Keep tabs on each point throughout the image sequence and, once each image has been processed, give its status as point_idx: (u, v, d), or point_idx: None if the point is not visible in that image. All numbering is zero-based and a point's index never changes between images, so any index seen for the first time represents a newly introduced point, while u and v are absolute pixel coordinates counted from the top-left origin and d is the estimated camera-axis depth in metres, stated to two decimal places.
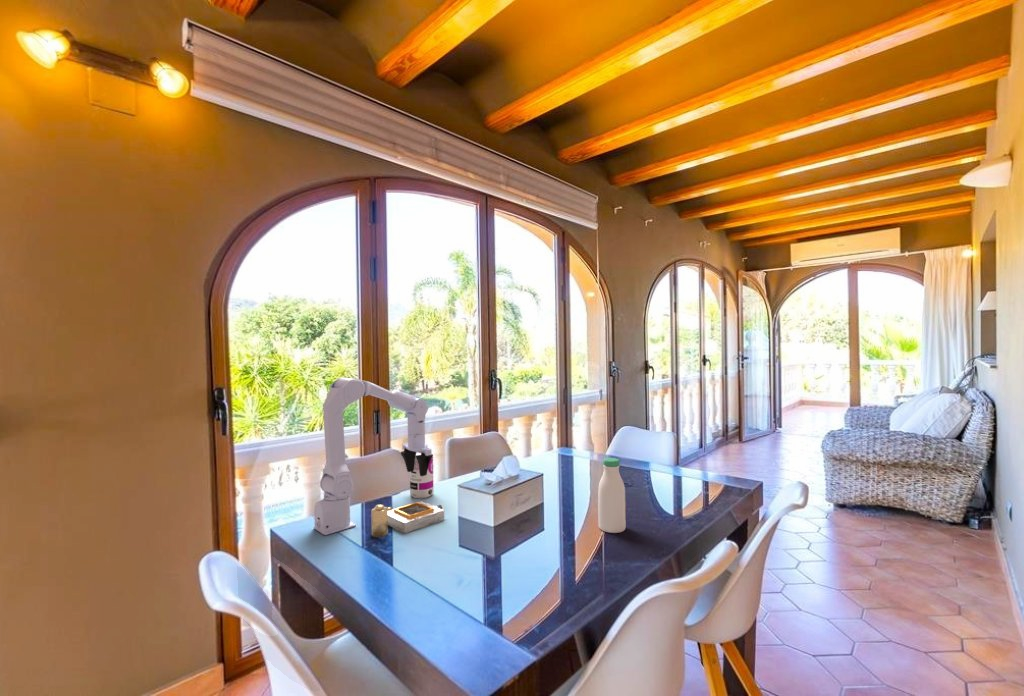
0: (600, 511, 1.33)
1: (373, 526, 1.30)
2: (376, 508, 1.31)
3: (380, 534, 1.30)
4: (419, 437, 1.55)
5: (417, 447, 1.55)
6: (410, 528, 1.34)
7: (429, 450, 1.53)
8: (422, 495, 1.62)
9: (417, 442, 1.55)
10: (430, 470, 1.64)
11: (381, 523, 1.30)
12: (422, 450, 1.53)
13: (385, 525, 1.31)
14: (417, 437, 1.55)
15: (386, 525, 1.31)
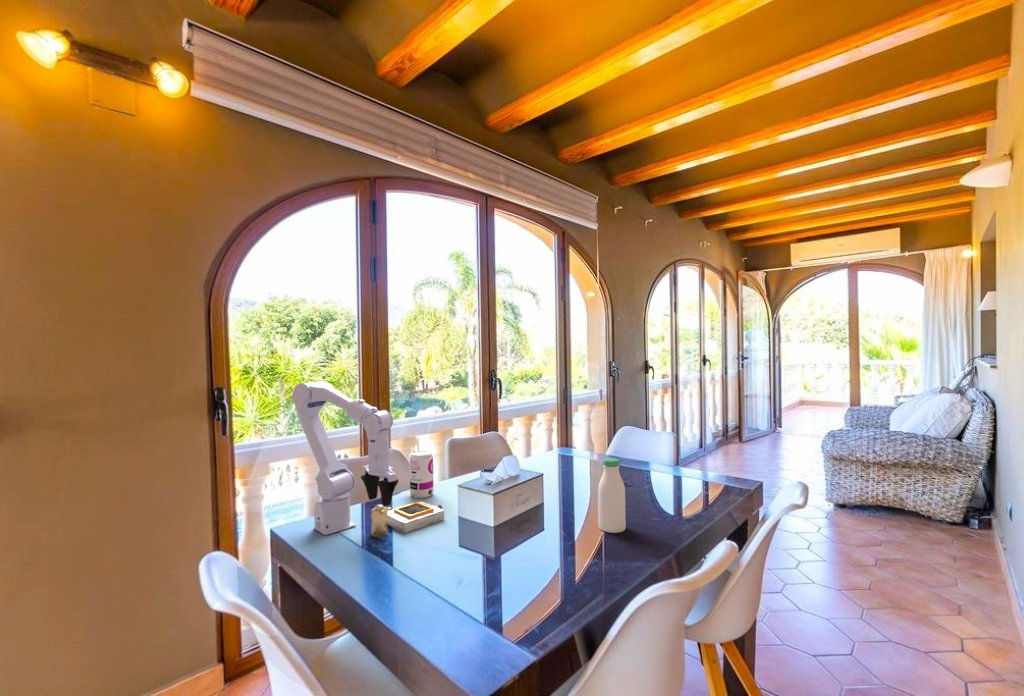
0: (600, 511, 1.33)
1: (373, 526, 1.30)
2: (376, 508, 1.31)
3: (380, 534, 1.30)
4: (381, 459, 1.30)
5: (379, 471, 1.29)
6: (410, 528, 1.34)
7: (393, 475, 1.27)
8: (422, 495, 1.62)
9: (379, 465, 1.29)
10: (430, 470, 1.64)
11: (381, 523, 1.30)
12: (384, 475, 1.27)
13: (385, 525, 1.31)
14: (379, 459, 1.29)
15: (386, 525, 1.31)
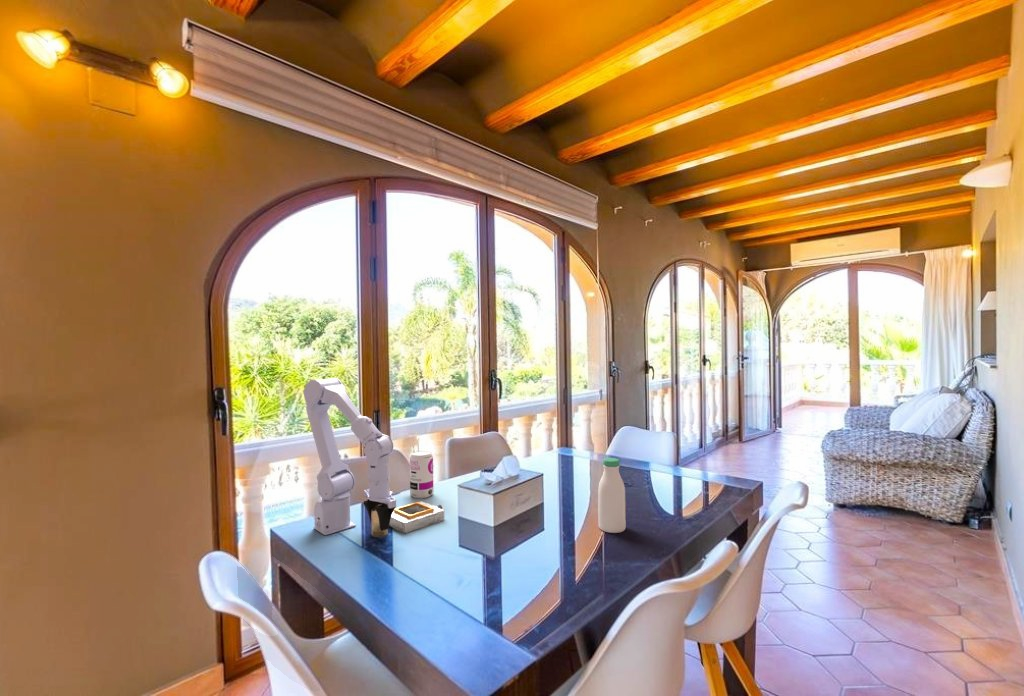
0: (600, 511, 1.33)
1: (373, 526, 1.30)
2: None
3: (380, 534, 1.30)
4: (381, 485, 1.30)
5: (379, 497, 1.29)
6: (410, 528, 1.34)
7: (393, 501, 1.27)
8: (422, 495, 1.62)
9: (379, 491, 1.29)
10: (430, 470, 1.64)
11: None
12: (385, 501, 1.27)
13: None
14: (379, 485, 1.29)
15: None
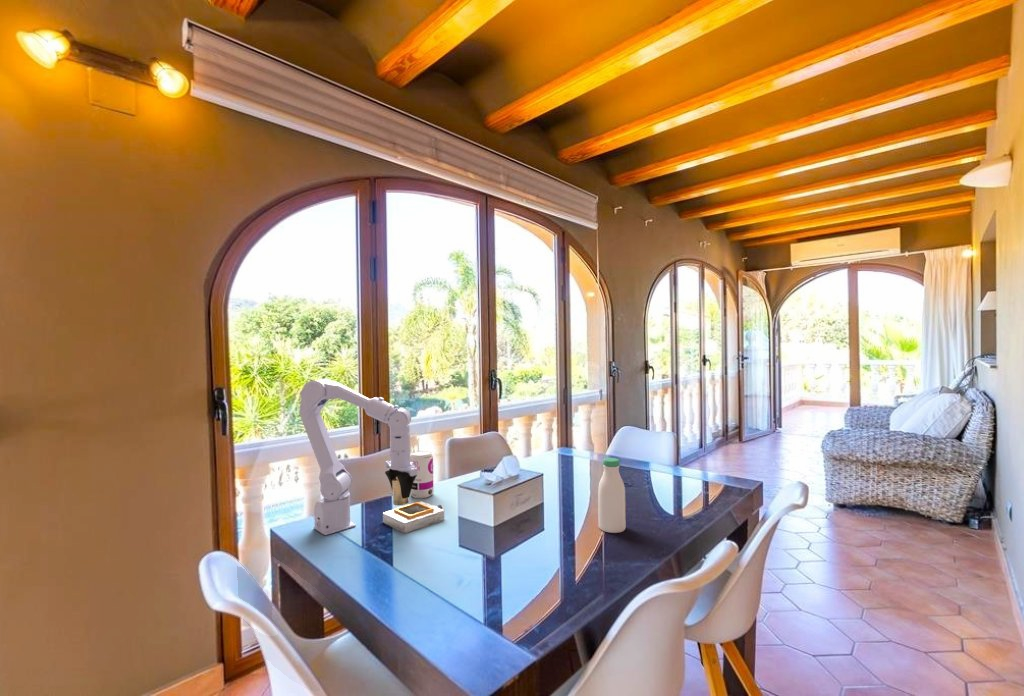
0: (600, 511, 1.33)
1: (394, 495, 1.36)
2: (397, 478, 1.36)
3: (401, 502, 1.36)
4: (403, 455, 1.35)
5: (401, 466, 1.35)
6: (410, 528, 1.34)
7: (414, 470, 1.33)
8: (422, 495, 1.62)
9: (401, 460, 1.35)
10: (430, 470, 1.64)
11: None
12: (406, 470, 1.33)
13: None
14: (401, 454, 1.35)
15: None
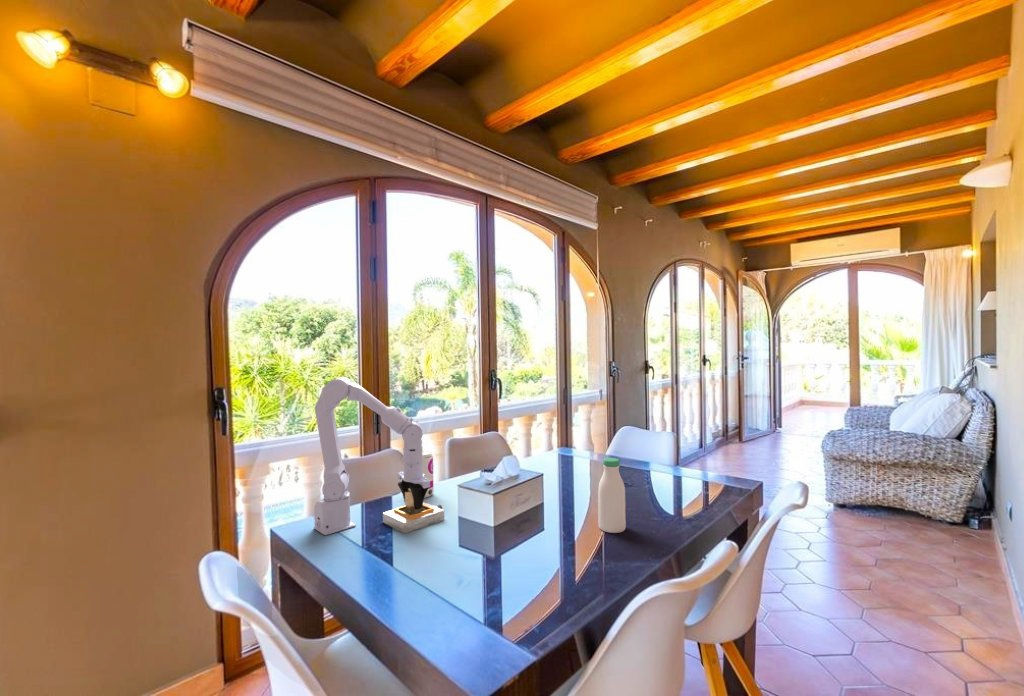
0: (600, 511, 1.33)
1: (407, 506, 1.39)
2: (409, 490, 1.40)
3: (414, 513, 1.39)
4: (416, 467, 1.39)
5: (414, 478, 1.39)
6: (410, 528, 1.34)
7: (427, 482, 1.36)
8: None
9: (414, 472, 1.39)
10: (430, 470, 1.64)
11: None
12: (419, 482, 1.37)
13: None
14: (414, 467, 1.39)
15: None
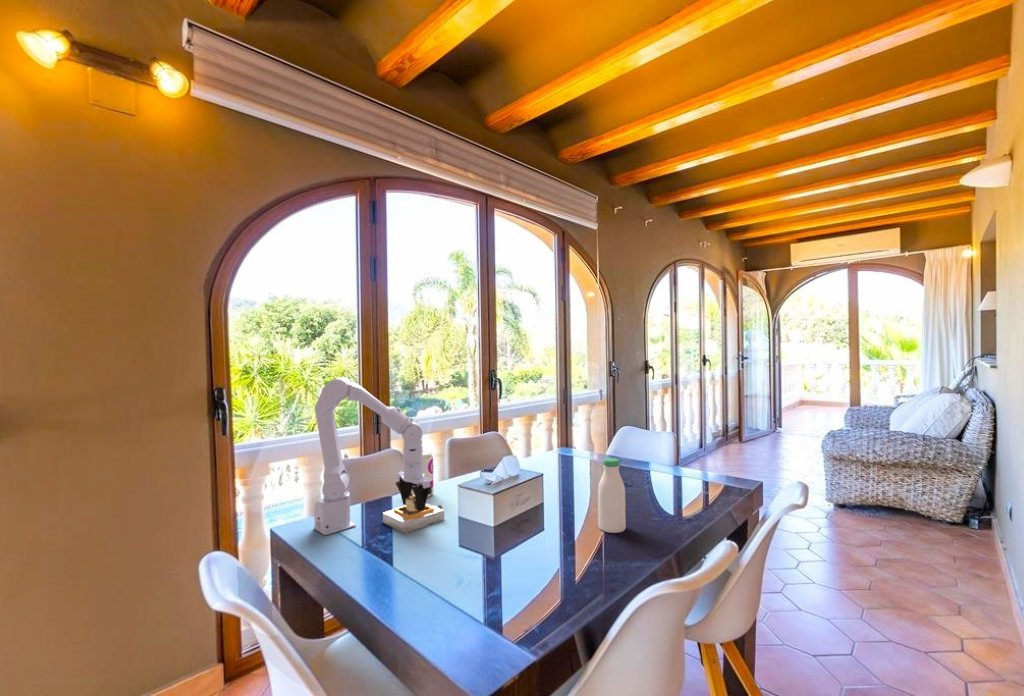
0: (600, 511, 1.33)
1: None
2: (410, 497, 1.40)
3: None
4: (416, 467, 1.39)
5: (414, 478, 1.39)
6: (410, 528, 1.34)
7: (427, 482, 1.36)
8: None
9: (414, 472, 1.39)
10: (430, 470, 1.64)
11: (416, 511, 1.39)
12: (419, 482, 1.37)
13: None
14: (414, 467, 1.39)
15: None
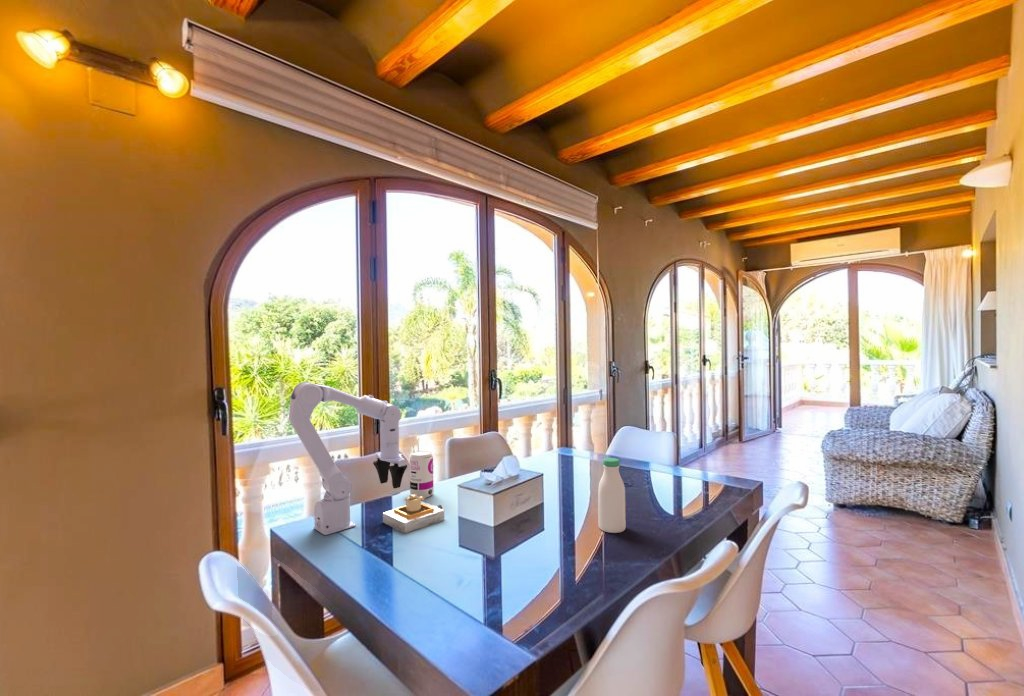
0: (600, 511, 1.33)
1: None
2: (410, 497, 1.40)
3: None
4: (392, 446, 1.44)
5: (390, 457, 1.44)
6: (410, 528, 1.34)
7: (402, 460, 1.42)
8: (422, 495, 1.62)
9: (390, 452, 1.44)
10: (430, 470, 1.64)
11: (416, 511, 1.39)
12: (395, 460, 1.42)
13: None
14: (390, 446, 1.44)
15: None
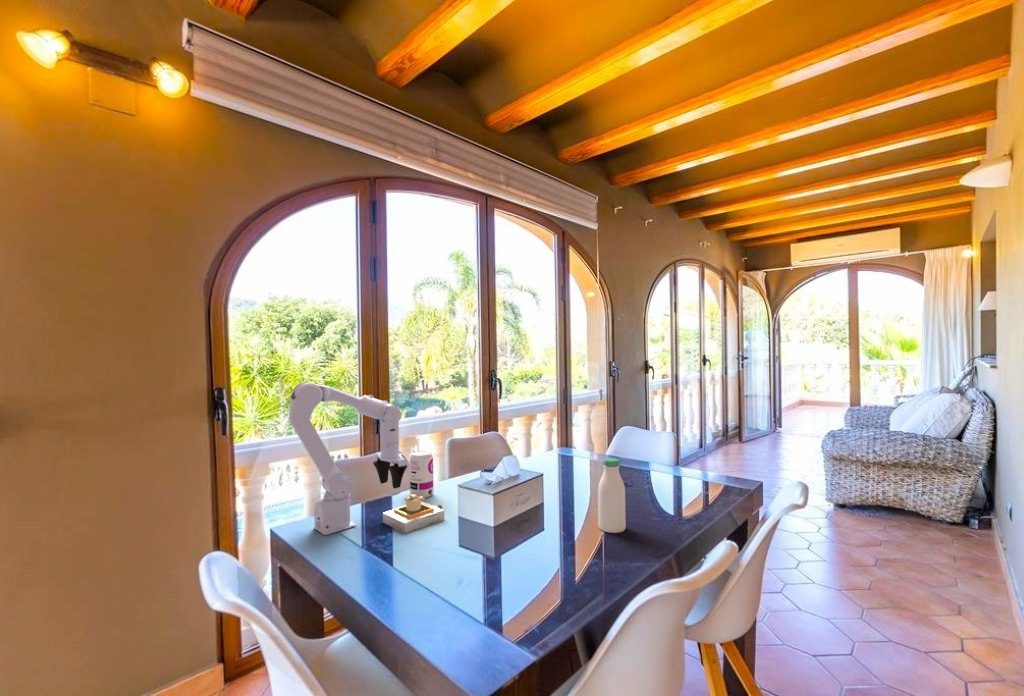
0: (600, 511, 1.33)
1: None
2: (410, 497, 1.40)
3: None
4: (392, 446, 1.44)
5: (390, 457, 1.44)
6: (410, 528, 1.34)
7: (402, 460, 1.42)
8: (422, 495, 1.62)
9: (390, 452, 1.44)
10: (430, 470, 1.64)
11: (416, 511, 1.39)
12: (395, 460, 1.42)
13: None
14: (390, 446, 1.44)
15: None
